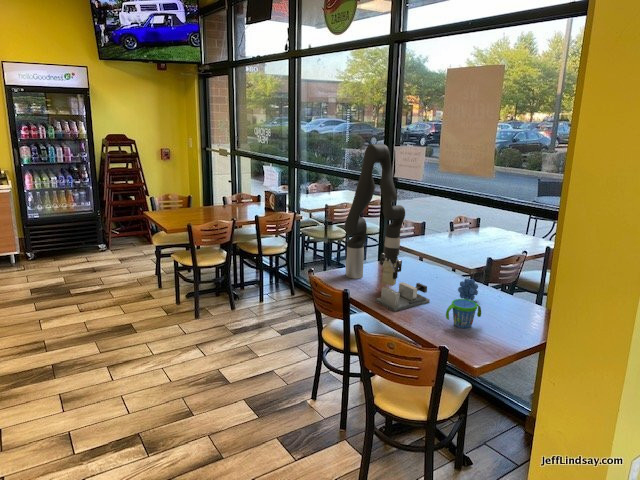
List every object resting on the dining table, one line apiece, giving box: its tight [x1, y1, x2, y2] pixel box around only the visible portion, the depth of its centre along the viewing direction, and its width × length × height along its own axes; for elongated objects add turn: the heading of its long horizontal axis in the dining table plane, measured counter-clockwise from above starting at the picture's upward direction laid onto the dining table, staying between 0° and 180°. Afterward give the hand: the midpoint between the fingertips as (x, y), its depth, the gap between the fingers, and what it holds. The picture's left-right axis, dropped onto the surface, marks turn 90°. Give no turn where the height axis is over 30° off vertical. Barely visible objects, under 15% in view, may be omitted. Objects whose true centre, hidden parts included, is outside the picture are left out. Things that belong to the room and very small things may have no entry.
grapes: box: [457, 277, 479, 301], centre depth 232 cm, size 12×7×12 cm, turn 111°
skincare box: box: [381, 260, 397, 287], centre depth 242 cm, size 6×4×12 cm
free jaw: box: [398, 281, 428, 301], centre depth 235 cm, size 10×11×6 cm
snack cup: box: [445, 298, 482, 329], centre depth 206 cm, size 16×10×10 cm
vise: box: [375, 286, 431, 312], centre depth 231 cm, size 14×22×8 cm, turn 122°
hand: (389, 276), depth 242 cm, fingers closed on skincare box, 7 cm apart
